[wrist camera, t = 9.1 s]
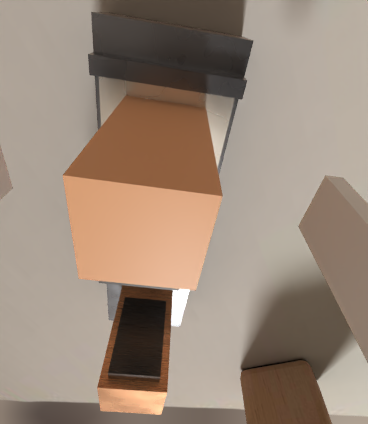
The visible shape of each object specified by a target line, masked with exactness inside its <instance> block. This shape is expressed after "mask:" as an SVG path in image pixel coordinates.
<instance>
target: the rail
mask: <svg viewBox="0 0 368 424" xmlns="http://www.w3.org/2000/svg"><path fill="white" fill-rule="evenodd" d="M91 14H92V32H93V49H94V52H93V53H90V54H88V59H89V73H90V75H93V76H95V85H96V102H97V120H98V130H99V129H100V127H101V126H102V125H103V124H104V122H105V121H106V120H107V119H108V117H109V116H110V115H111V113H112V112H113V111H114V110H115V108H116V107H117V106H118V105H119V103H120V102H121V101H122V99H123V98H124V97H125V96H126V95H127V96H133V97H140V98H146V99H153V100H159V101H165V102H172V103H178V104H184V105H191V106H197V107H204V108H206V111H207V116H208V122H209V127H210V132H211V138H212V143H213V148H214V153H215V159H216V164H217V169H218V175H219V173H220V169H221V165H222V161H223V157H224V153H225V149H226V145H227V142H228V138H229V134H230V130H231V126H232V122H233V118H234V114H235V110H236V106H237V103H238V99H242V98H243V94H244V90H245V86H246V83H247V80H246V79H245V78H244V75H245V71H246V67H247V64H248V60H249V56H250V52H251V48H252V44H253V41H252V40H250V39H247V38H245V37H242V36H236V35H231V34H225V33H219V32H214V31H208V30H203V29H197V28H191V27H186V26H180V25H175V24H169V23H163V22H158V21H152V20H147V19H141V18H136V17H130V16H124V15H119V14H113V13H102V12H91ZM188 293H189V290H185V289H179V291H175V290H165V289H155V288H145V287H135V286H125V285H115V284H107V297H108V314H109V320H113V321H114V322H113V326H112V330H111V334H110V338H109V342H108V346H107V350H106V354H105V359H104V363H103V367H102V371H101V375H100V379H99V383H98V387H97V389H98V396H99V402H100V409H101V411H112V412H128V413H144V414H161V412H162V409H163V405H164V402H165V398H166V395H167V385H168V368H169V350H170V332H171V326H180V325H181V321H182V317H183V313H184V309H185V305H186V301H187V297H188Z"/></svg>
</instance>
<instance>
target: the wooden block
mask: <svg viewBox="0 0 368 424" xmlns="http://www.w3.org/2000/svg"><path fill="white" fill-rule="evenodd" d="M240 379H241V386H242V393H243V400H244V407H245V414H246V421H247V424H332V422H331V420H330V417H329V414H328V411H327V408H326V405H325V403H324V400H323V397H322V394H321V391H320V388H319V386H318V383H317V381H316V378H315V376H314V373H313V371H312V368H311V366H310V365H309V364H308V362H307V361H302V360H299V361H293V362H288V363H282V364H276V365H271V366H265V367H259V368H253V369H248V370H244V371H242V372H241V378H240Z"/></svg>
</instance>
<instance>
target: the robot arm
mask: <svg viewBox="0 0 368 424" xmlns="http://www.w3.org/2000/svg"><path fill="white" fill-rule="evenodd" d="M12 188H13V187H12V184H11V180H10V177H9V173H8V170H7V167H6V163H5V160H4V156H3V153H2V150H1V146H0V200H1V199H2V198H3V197H4V196H5V195H6V194H7V193H8V192H9V191H10V190H11V189H12ZM298 227H299V229H300V231H301V232H302V234H303V236H304V238H305V240H306V242H307V244H308V246H309V248H310V250H311V252H312V254H313V256H314V258H315V260H316V262H317V264H318V266H319V268H320V270H321V272H322V274H323V276H324V278H325V280H326V282H327V284H328V286H329V288H330V290H331V291H332V293H333V295H334V297H335V299H336V301H337V303H338V305H339V307H340V309H341V311H342V313H343V315H344V317H345V319H346V321H347V323H348V325H349V327H350V329H351V331H352V333H353V335H354V337H355V339H356V341H357V343H358V345H359V347H360V349H361V351H362V352H363V354H364V356H365V358H366V360H367V362H368V203H367V202H366V201H365V200H364V199H363V198H362V197H361V196H360V195H359V194H358V193H357V192H356V191H355V190H354V189H353V188H352V187H351V186H350V184H349V183H348V182H347V181H346V180H345V179H344V178H340V177H333V176H325V177H324V179H323V181H322V183H321V185H320V187H319V189H318V191H317V192H316V194H315V196H314V198H313V200H312V202H311V204H310V206H309V207H308V209H307V211H306V213H305V215H304V217H303V219H302V220H301V222H300V224H299V226H298Z"/></svg>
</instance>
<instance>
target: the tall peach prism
mask: <svg viewBox="0 0 368 424" xmlns="http://www.w3.org/2000/svg"><path fill="white" fill-rule="evenodd" d="M63 180H64V186H65V193H66V199H67V206H68V212H69V218H70V225H71V231H72V238H73V244H74V250H75V257H76V263H77V270H78V276H79V279H86V280H96V281H99V283H105V284H115V285H125V286H135V287H145V288H155V289H165V290H175V291H179V289H185V290H195V291H196V288H197V285H198V281H199V278H200V274H201V271H202V267H203V264H204V260H205V257H206V253H207V249H208V246H209V242H210V239H211V235H212V232H213V228H214V225H215V221H216V218H217V214H218V211H219V207H220V204H221V200H222V197H223V196H222V190H221V185H220V180H219V175H218V169H217V164H216V159H215V153H214V148H213V143H212V138H211V132H210V127H209V122H208V116H207V111H206V108H204V107H197V106H191V105H184V104H178V103H172V102H165V101H159V100H153V99H146V98H140V97H133V96H127V95H126V96H125V97H124V98H123V99H122V101H121V102H120V103H119V105H118V106H117V107H116V108H115V110H114V111H113V112H112V113H111V115H110V116H109V117H108V119H107V120H106V121H105V122H104V124H103V125H102V126H101V127H100V129H99V130H98V131H97V132H96V134H95V135H94V136H93V138H92V139H91V140H90V141H89V143H88V144H87V145H86V146H85V148H84V149H83V150H82V152H81V153H80V154H79V155H78V157H77V158H76V159H75V160H74V162H73V163H72V164H71V165H70V167H69V168H68V169H67V171H66V172H65V173H64V174H63Z"/></svg>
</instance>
